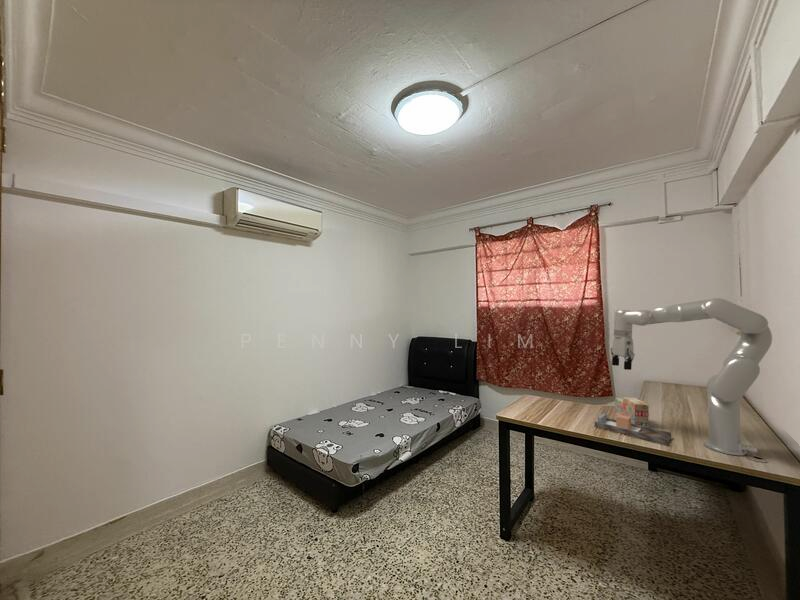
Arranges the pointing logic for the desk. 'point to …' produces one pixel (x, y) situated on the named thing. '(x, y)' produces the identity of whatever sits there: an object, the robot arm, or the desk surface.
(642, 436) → the rail board
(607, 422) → the white sliding panel
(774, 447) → the desk surface
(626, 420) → the terracotta block
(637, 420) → the stack of blocks
